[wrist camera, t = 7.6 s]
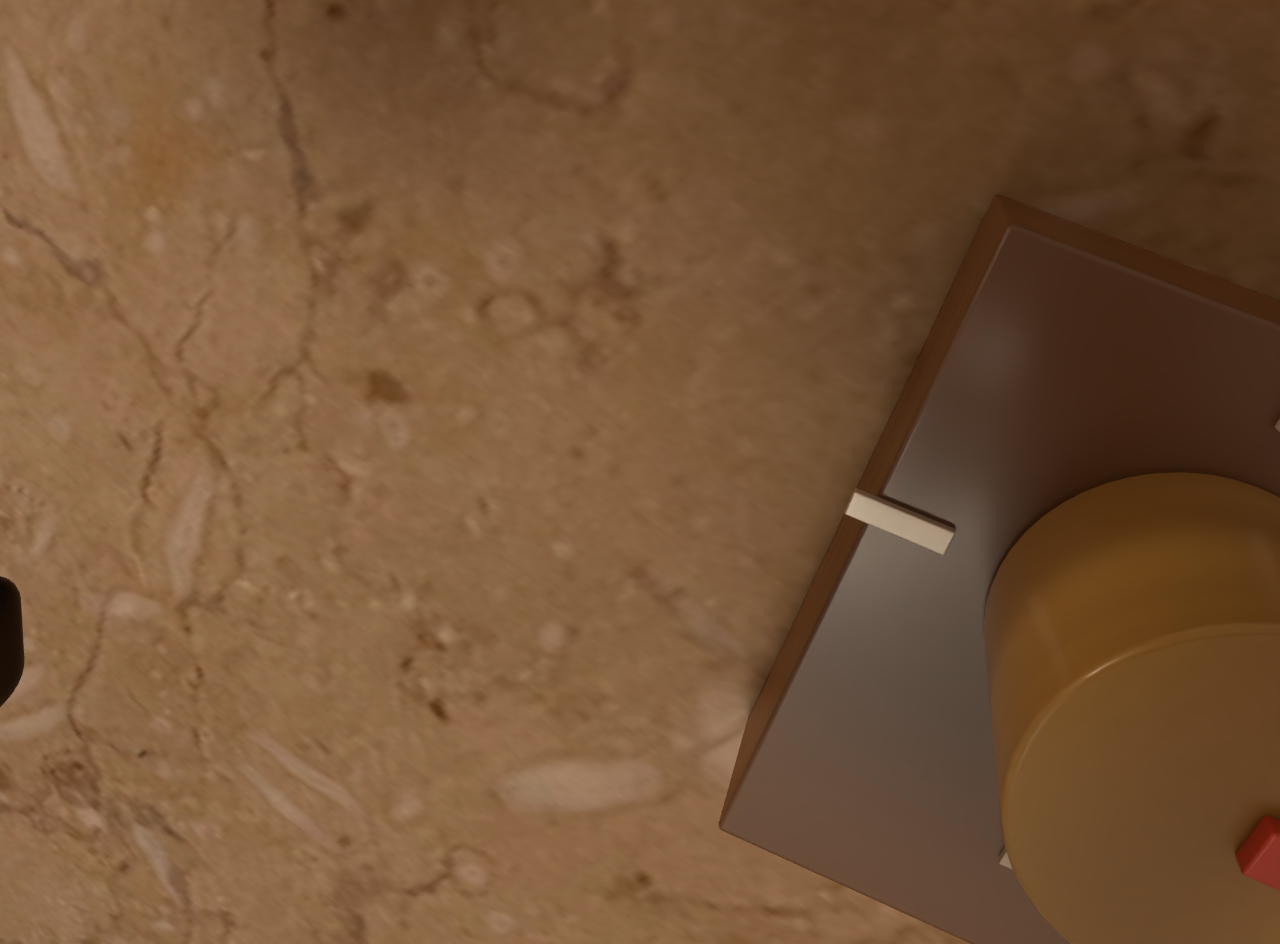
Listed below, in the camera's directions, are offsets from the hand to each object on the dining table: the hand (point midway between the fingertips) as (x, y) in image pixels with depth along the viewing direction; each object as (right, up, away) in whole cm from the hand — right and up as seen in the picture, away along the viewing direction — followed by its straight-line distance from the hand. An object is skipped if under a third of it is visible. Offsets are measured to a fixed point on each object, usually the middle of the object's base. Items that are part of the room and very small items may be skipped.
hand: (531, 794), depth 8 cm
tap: (+8, 0, +6) cm, 10 cm away
